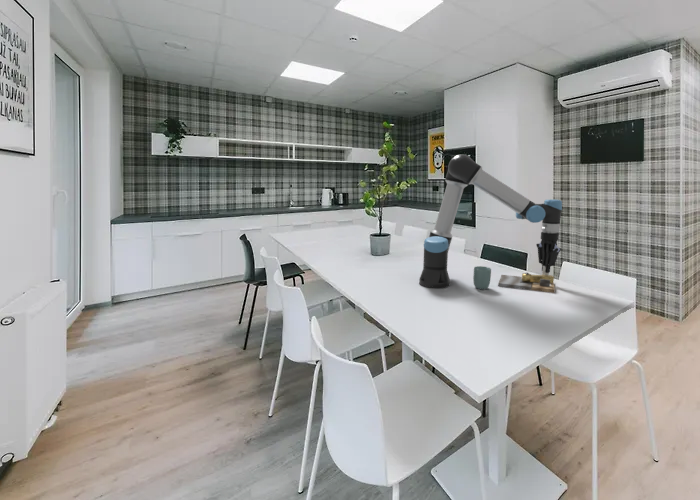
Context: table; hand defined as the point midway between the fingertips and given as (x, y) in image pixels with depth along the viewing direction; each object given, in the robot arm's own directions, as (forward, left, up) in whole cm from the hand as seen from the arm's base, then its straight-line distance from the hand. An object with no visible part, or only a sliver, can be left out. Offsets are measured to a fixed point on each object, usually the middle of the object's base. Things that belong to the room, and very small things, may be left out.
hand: (544, 278), depth 173 cm
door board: (-8, -5, -3) cm, 10 cm away
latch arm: (-3, -4, -1) cm, 5 cm away
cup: (-27, -21, -3) cm, 34 cm away
